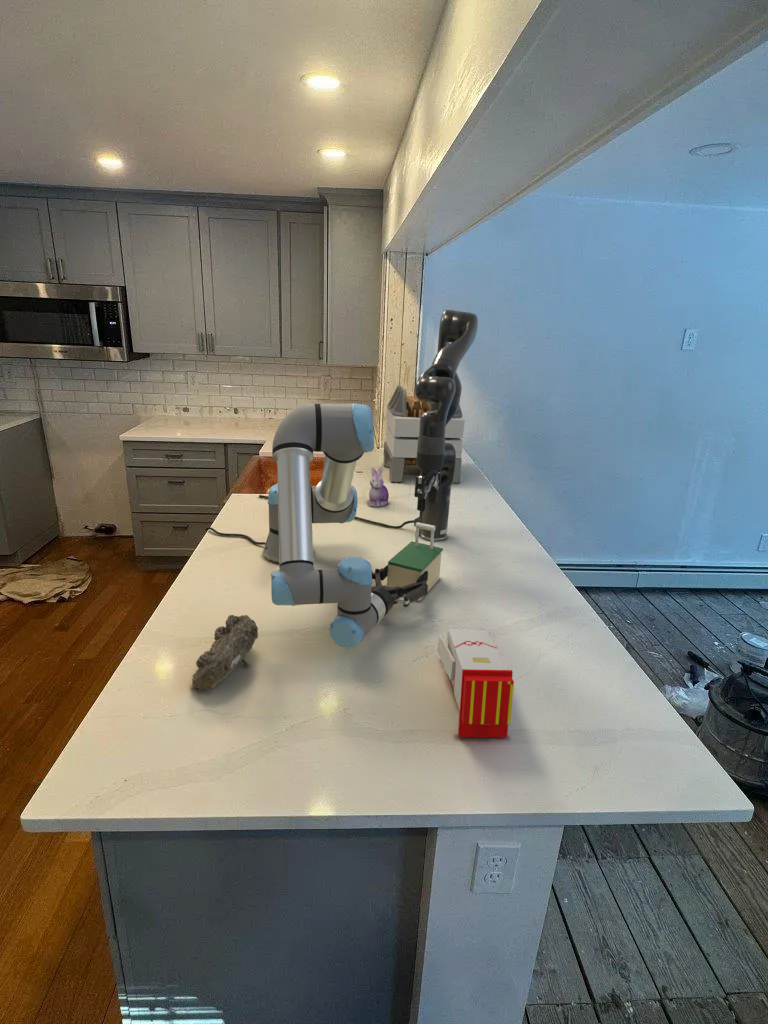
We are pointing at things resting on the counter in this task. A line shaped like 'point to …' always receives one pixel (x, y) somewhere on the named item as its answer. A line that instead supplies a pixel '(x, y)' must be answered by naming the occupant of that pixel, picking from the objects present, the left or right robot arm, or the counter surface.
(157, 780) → the counter surface
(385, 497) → the figurine
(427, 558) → the lid
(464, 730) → the toy
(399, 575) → the chest
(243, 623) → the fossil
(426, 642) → the counter surface
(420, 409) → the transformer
